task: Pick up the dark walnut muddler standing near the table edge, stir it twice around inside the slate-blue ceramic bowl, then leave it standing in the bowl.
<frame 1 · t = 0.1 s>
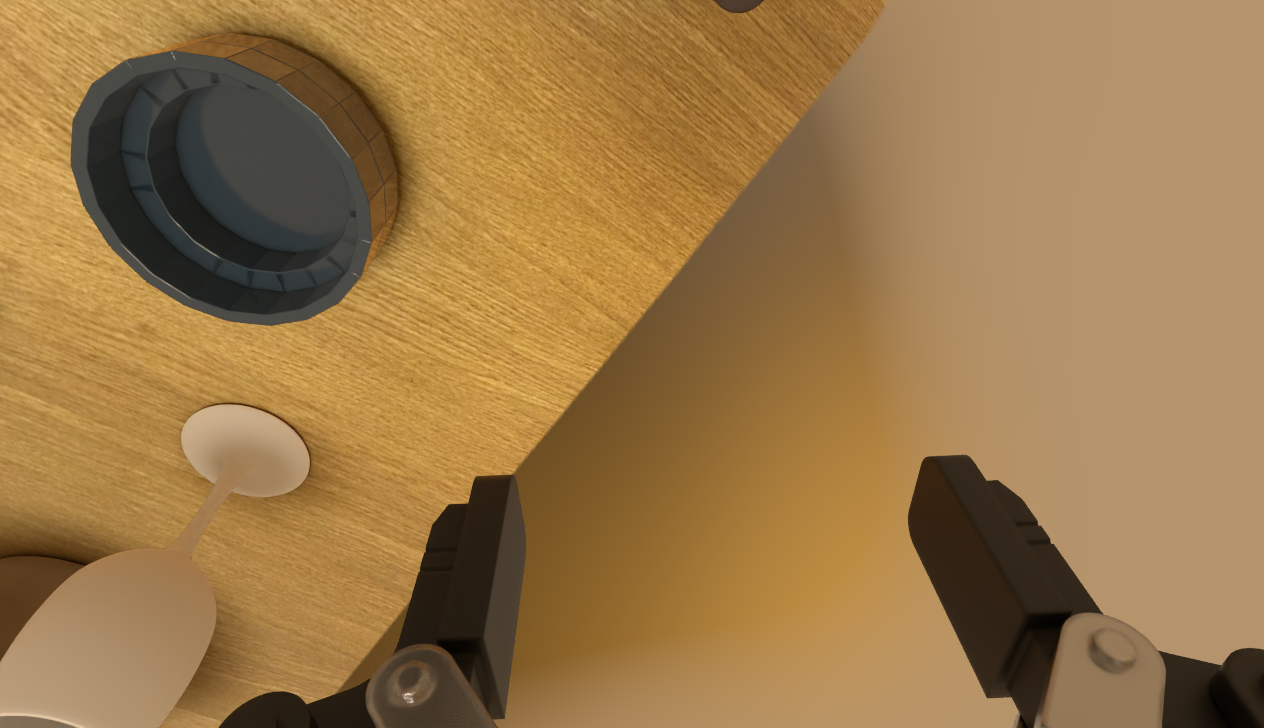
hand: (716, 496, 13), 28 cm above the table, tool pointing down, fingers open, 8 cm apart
bowl: (277, 165, 37), on the table
flower pot: (70, 609, 58), on the table
wineglass: (248, 449, 49), on the table
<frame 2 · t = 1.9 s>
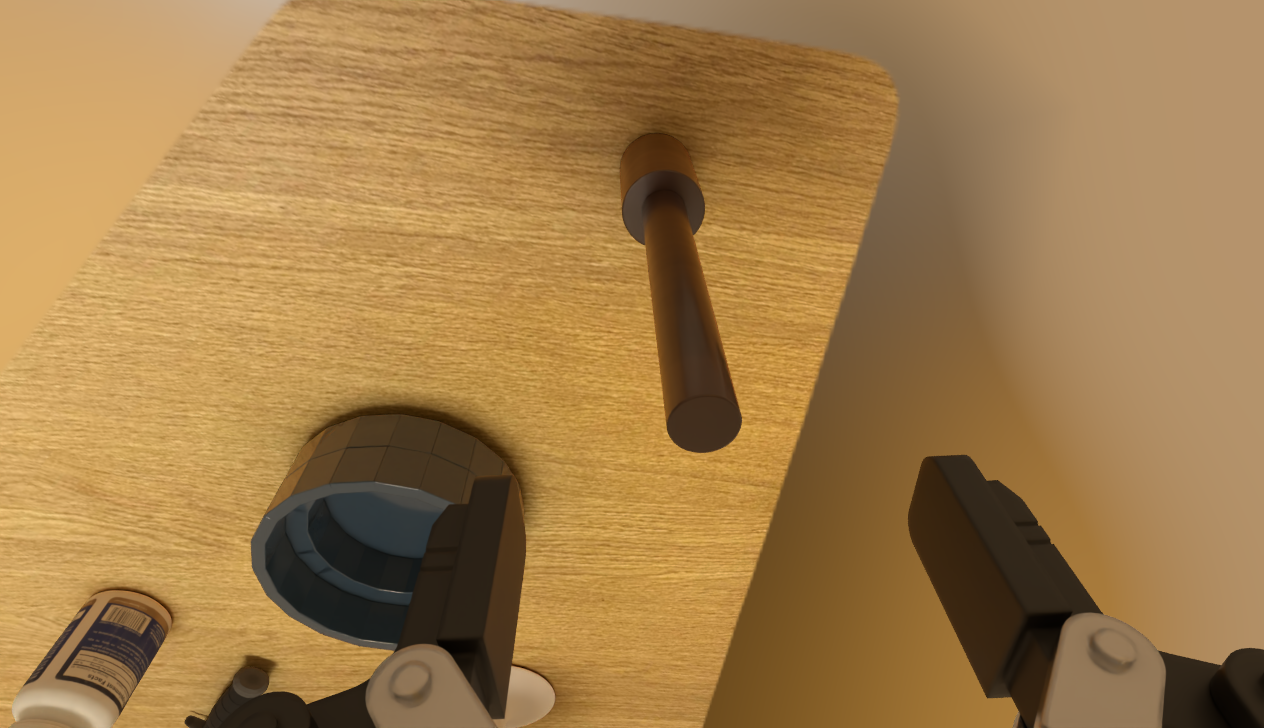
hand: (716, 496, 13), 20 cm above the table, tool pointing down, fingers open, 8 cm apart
pill bottle: (133, 609, 46), on the table
muddler: (655, 169, 30), on the table
bowl: (412, 493, 41), on the table
wineglass: (499, 692, 53), on the table
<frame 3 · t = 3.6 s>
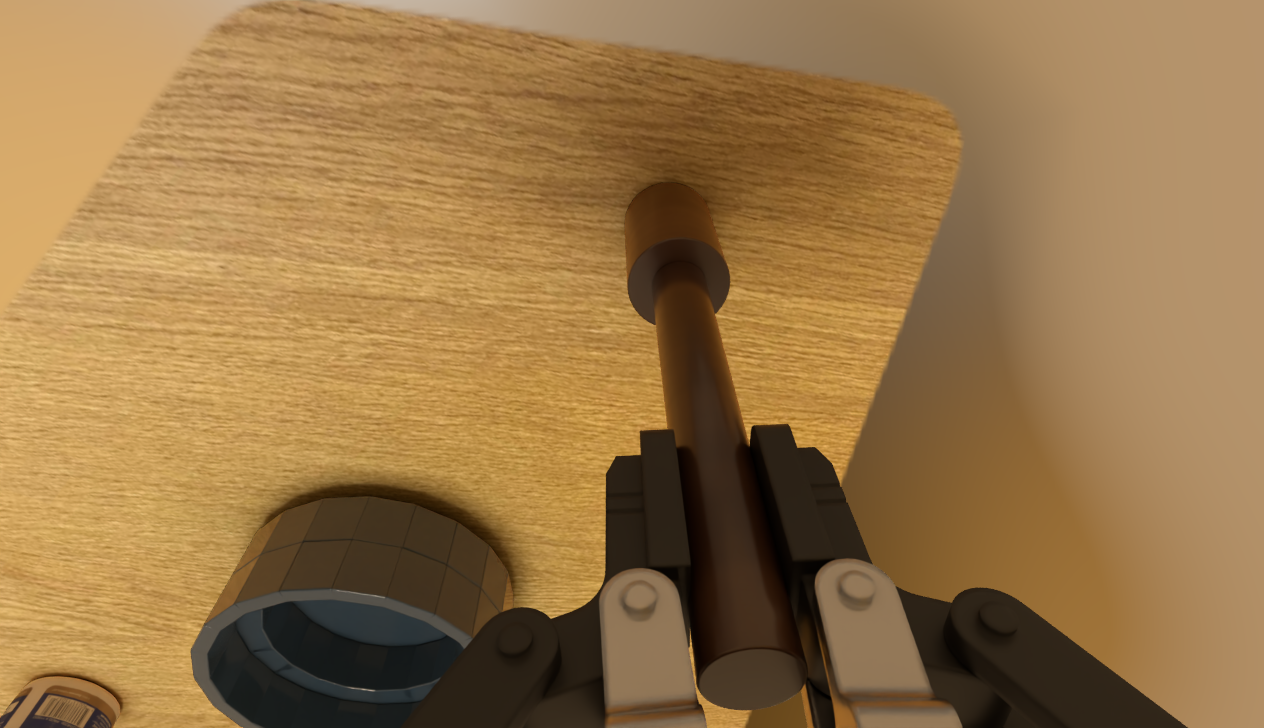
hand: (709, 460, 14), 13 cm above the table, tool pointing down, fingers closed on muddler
pill bottle: (77, 695, 41), on the table
muddler: (667, 224, 25), on the table, touching gripper
bowl: (386, 577, 36), on the table
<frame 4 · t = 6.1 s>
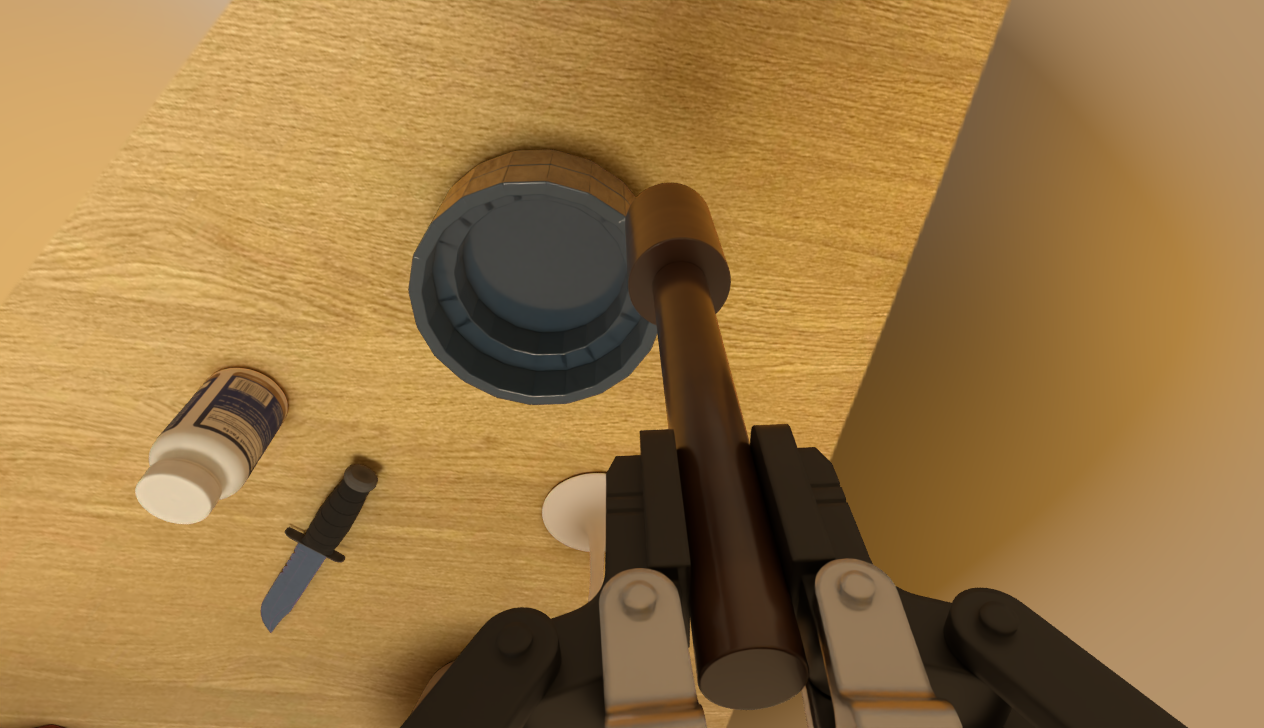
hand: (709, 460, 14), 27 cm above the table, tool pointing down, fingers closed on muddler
pill bottle: (250, 395, 46), on the table
muddler: (667, 224, 25), point 14 cm above the table, touching gripper
bowl: (546, 257, 41), on the table
knife: (310, 549, 55), on the table
flower pot: (503, 692, 67), on the table
wineglass: (597, 510, 54), on the table
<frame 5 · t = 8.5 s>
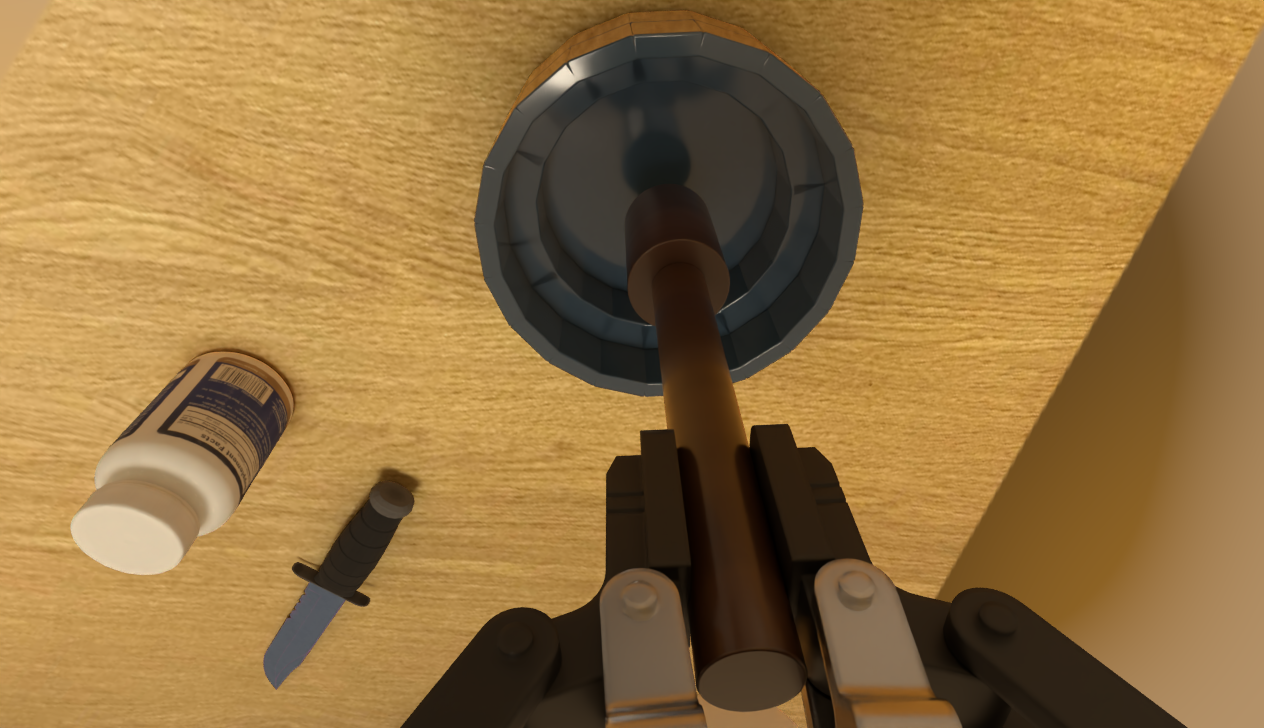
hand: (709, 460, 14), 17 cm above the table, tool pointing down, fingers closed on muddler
pill bottle: (243, 390, 34), on the table
muddler: (667, 225, 25), point 4 cm above the table, touching gripper
bowl: (658, 185, 29), on the table
knife: (324, 589, 43), on the table
wineglass: (696, 536, 41), on the table
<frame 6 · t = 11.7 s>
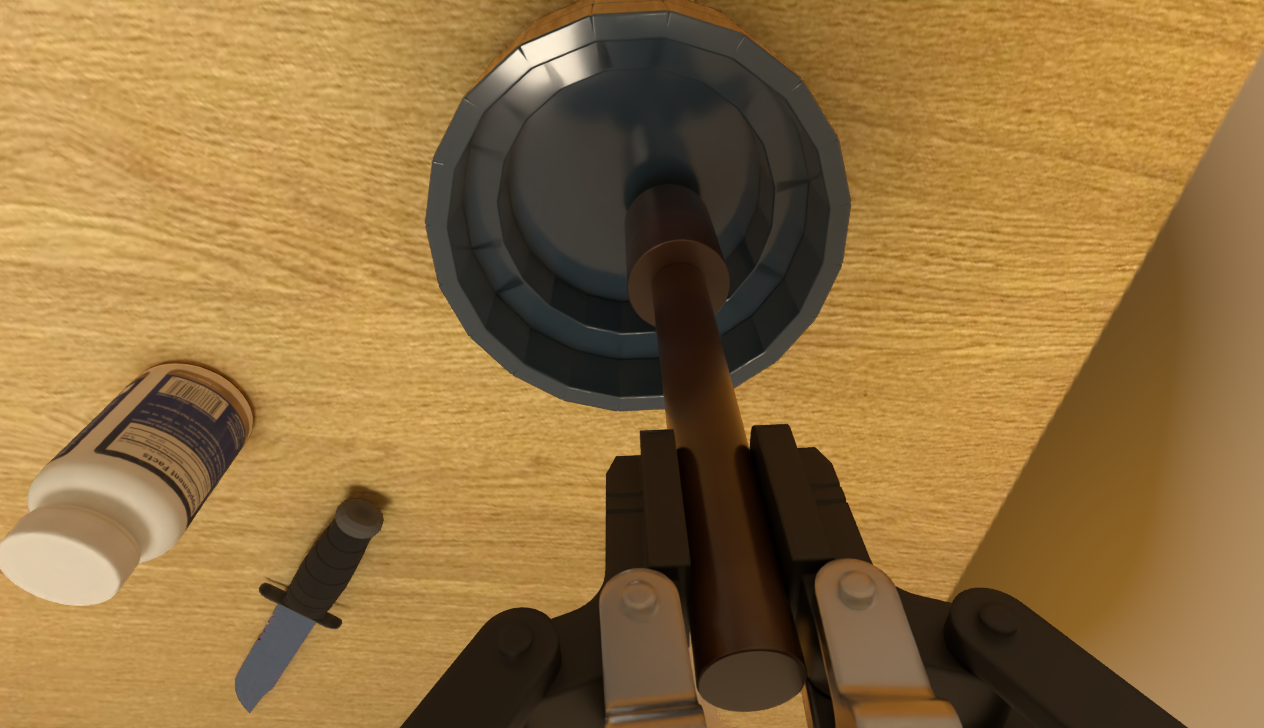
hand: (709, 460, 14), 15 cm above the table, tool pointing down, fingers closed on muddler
pill bottle: (199, 403, 32), on the table
muddler: (667, 225, 25), point 2 cm above the table, touching gripper
bowl: (634, 183, 27), on the table
knife: (295, 610, 41), on the table
wineglass: (684, 554, 39), on the table
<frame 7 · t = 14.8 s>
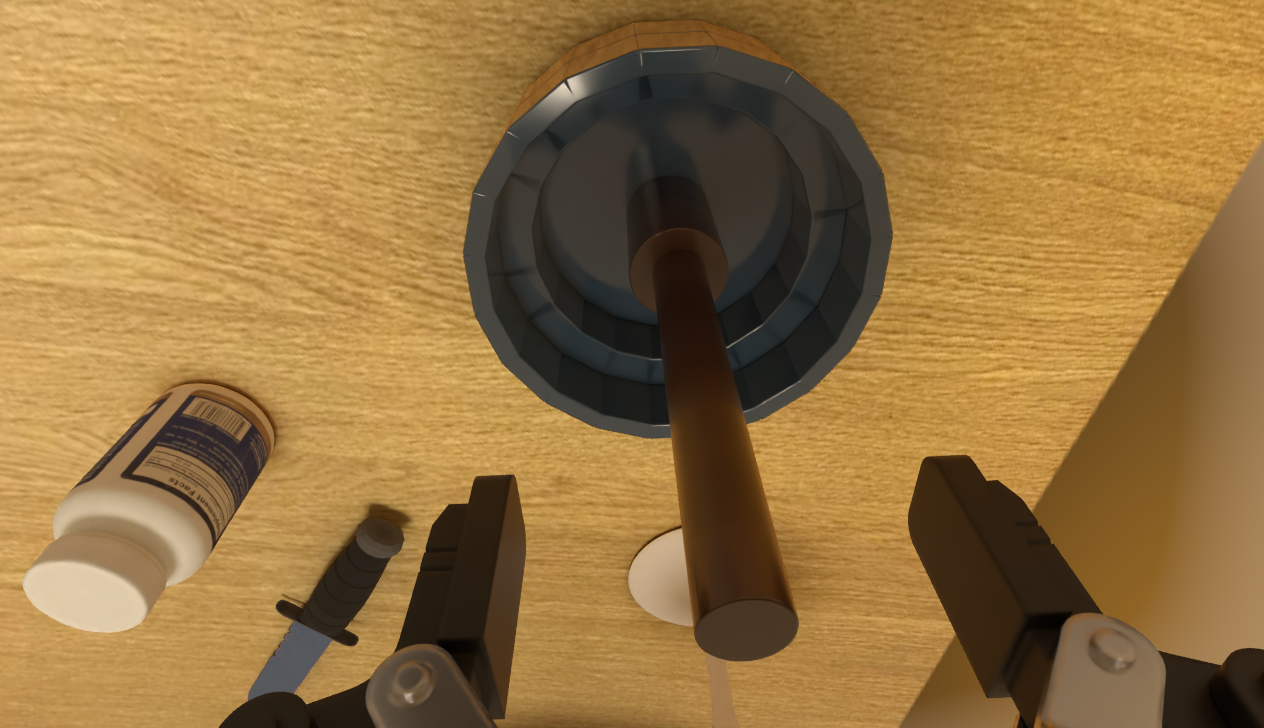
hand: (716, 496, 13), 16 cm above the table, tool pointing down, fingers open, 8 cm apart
pill bottle: (220, 423, 32), on the table
muddler: (668, 216, 26), point 1 cm above the table, touching bowl
bowl: (665, 208, 27), on the table
knife: (311, 626, 41), on the table
wineglass: (703, 572, 39), on the table
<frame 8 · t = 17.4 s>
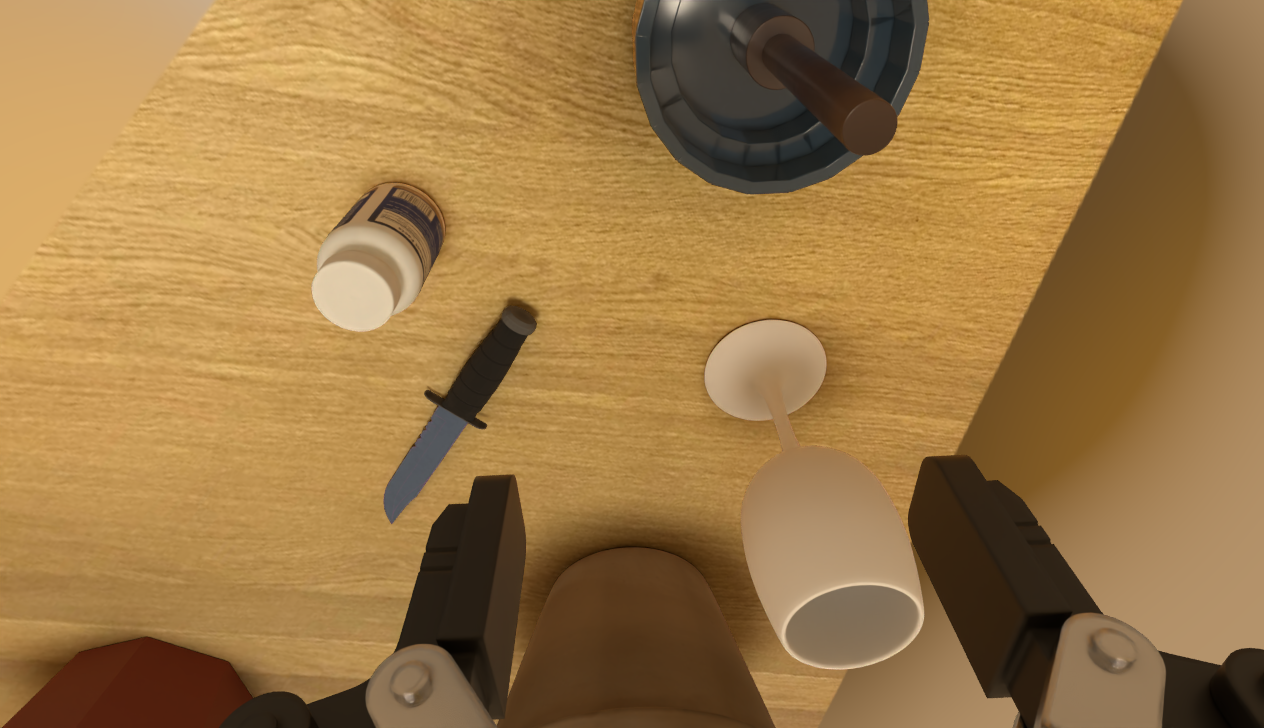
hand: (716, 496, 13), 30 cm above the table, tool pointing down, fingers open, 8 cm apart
pill bottle: (403, 222, 42), on the table
muddler: (760, 37, 36), point 1 cm above the table, touching bowl
bowl: (757, 34, 36), on the table
bucket: (169, 683, 68), on the table
knife: (445, 420, 50), on the table
flower pot: (630, 597, 63), on the table
wineglass: (764, 369, 49), on the table
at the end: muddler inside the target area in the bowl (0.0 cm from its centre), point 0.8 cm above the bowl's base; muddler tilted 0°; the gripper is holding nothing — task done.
